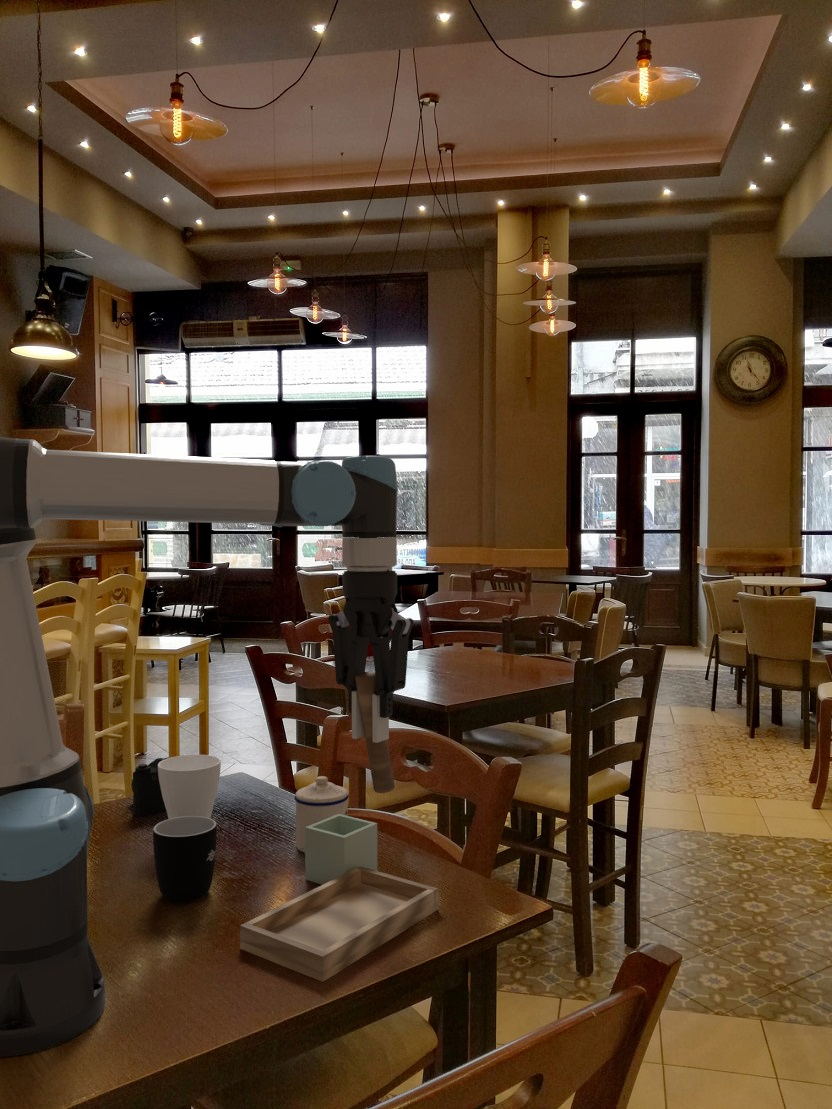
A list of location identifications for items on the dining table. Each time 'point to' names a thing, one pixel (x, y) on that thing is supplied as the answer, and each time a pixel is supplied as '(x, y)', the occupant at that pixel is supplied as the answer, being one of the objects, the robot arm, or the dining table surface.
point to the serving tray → (338, 922)
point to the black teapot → (147, 790)
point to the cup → (189, 784)
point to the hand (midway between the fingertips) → (370, 738)
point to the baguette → (376, 751)
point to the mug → (185, 857)
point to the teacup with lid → (318, 805)
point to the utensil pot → (339, 847)
